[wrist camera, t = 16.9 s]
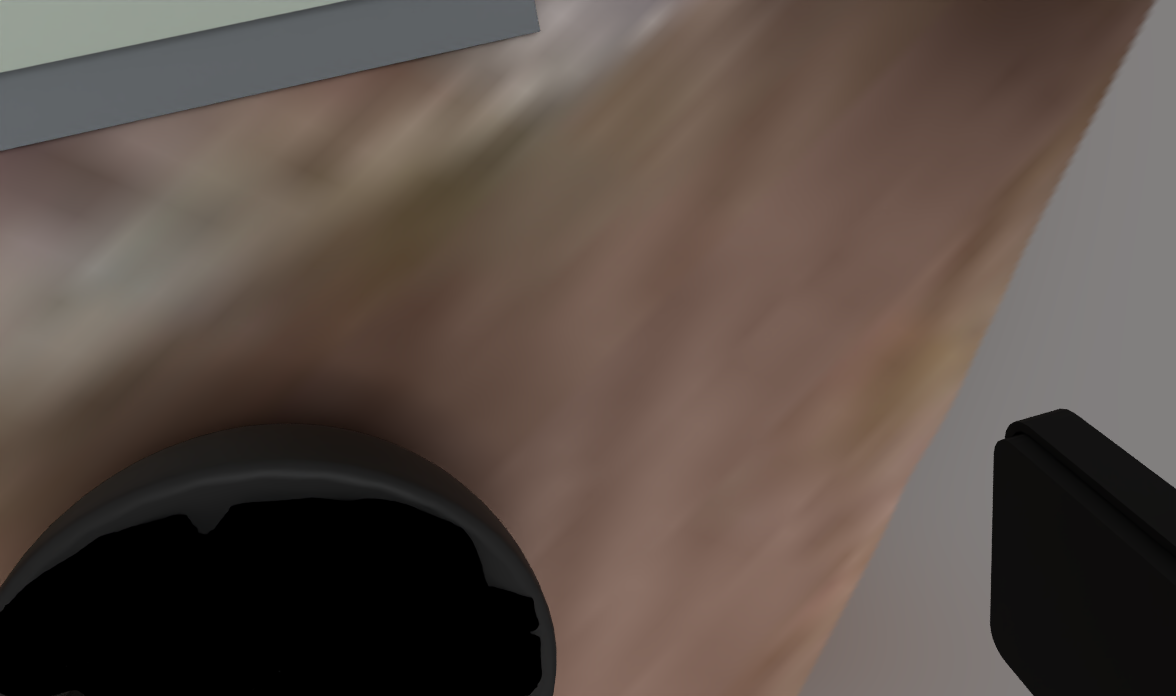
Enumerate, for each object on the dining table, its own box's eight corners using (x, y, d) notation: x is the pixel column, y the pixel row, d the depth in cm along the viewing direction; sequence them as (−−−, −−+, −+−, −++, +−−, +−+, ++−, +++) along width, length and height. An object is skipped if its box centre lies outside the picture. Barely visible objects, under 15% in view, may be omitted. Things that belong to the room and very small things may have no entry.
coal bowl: (32, 701, 45) (-148, 1190, 28) (56, 296, 37) (-170, 637, 21) (467, 715, 51) (528, 1123, 34) (562, 367, 43) (698, 676, 27)
